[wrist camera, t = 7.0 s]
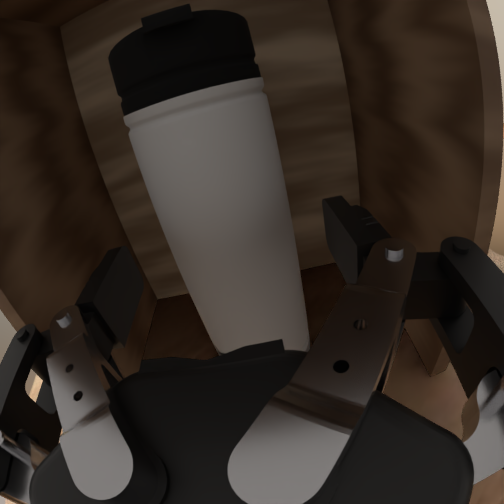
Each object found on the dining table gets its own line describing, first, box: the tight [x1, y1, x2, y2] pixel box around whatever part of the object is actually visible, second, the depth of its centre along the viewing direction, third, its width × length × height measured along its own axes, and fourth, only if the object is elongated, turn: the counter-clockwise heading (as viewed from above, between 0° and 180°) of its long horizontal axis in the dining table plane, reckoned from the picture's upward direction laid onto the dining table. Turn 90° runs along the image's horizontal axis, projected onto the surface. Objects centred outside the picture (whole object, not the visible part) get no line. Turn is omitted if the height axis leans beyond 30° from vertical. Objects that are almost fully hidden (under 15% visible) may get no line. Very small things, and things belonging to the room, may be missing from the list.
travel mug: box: [108, 3, 310, 356], centre depth 15 cm, size 6×7×20 cm
